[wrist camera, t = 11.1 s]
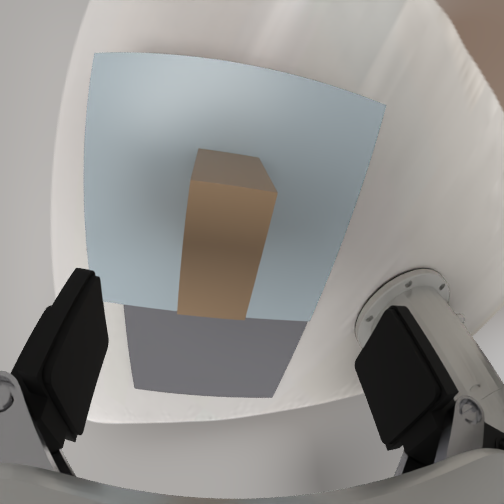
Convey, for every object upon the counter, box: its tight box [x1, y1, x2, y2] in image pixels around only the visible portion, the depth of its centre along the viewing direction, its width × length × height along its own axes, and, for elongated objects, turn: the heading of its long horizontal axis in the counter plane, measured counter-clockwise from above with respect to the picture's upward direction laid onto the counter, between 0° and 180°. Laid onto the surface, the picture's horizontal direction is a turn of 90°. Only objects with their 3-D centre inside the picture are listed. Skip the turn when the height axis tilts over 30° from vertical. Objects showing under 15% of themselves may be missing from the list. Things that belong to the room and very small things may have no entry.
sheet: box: [84, 52, 386, 321], centre depth 14 cm, size 15×15×6 cm
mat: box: [124, 304, 308, 398], centre depth 31 cm, size 18×18×1 cm
